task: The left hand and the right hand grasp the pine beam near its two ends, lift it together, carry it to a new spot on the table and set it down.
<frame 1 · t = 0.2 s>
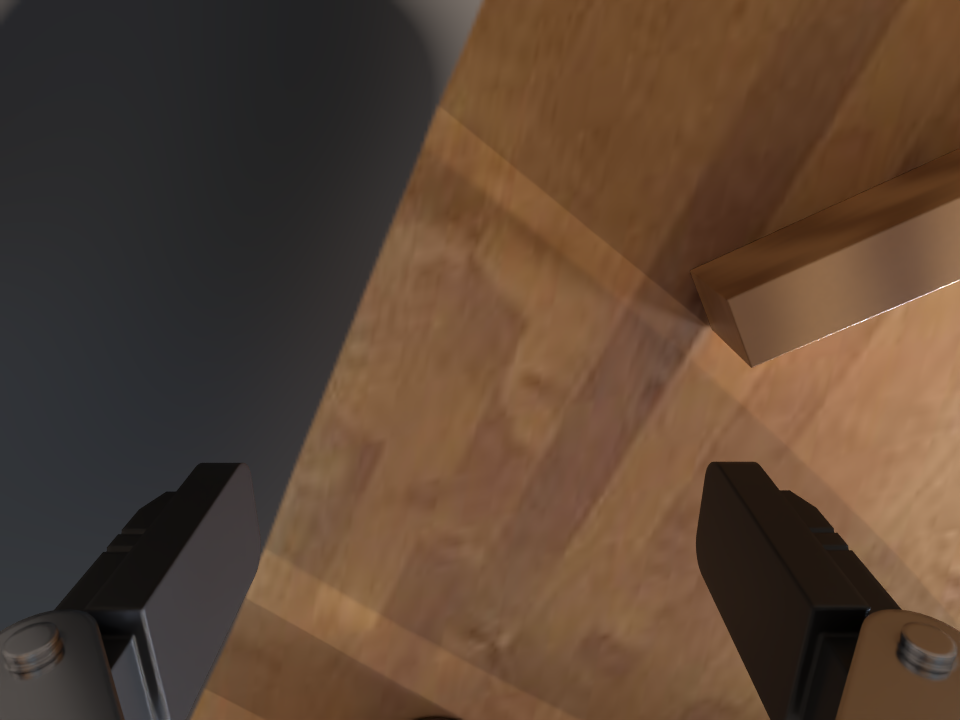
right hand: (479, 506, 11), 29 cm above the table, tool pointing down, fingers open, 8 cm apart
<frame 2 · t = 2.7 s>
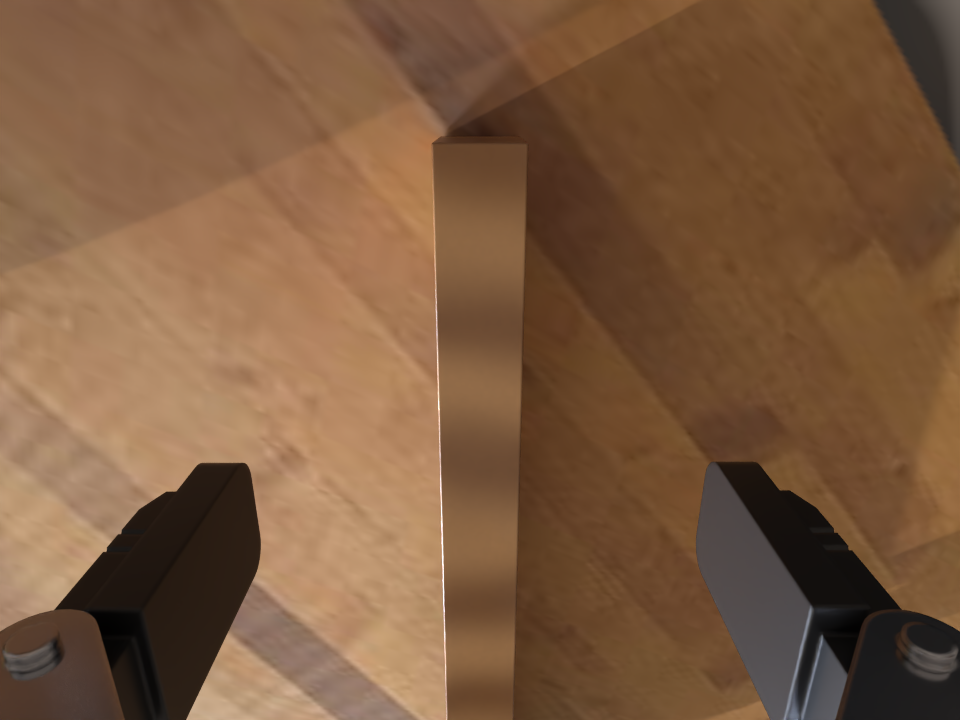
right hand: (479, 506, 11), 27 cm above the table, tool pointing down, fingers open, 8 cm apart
beam: (479, 530, 44), on the table, touching left hand
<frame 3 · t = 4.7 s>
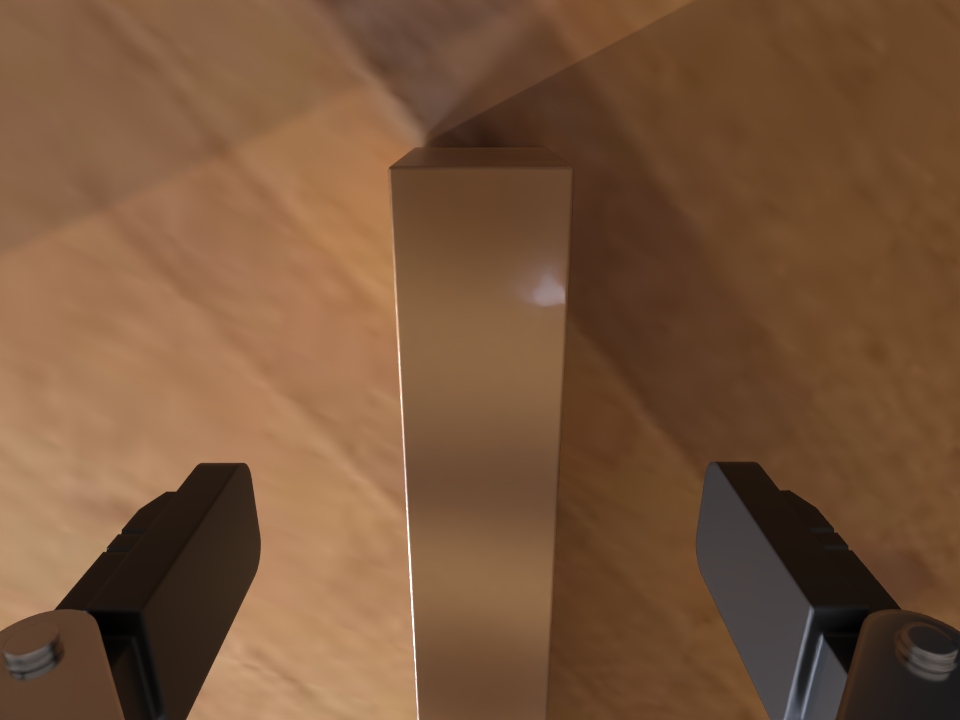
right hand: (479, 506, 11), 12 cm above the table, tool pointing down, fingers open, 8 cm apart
beam: (481, 715, 30), on the table, touching left hand
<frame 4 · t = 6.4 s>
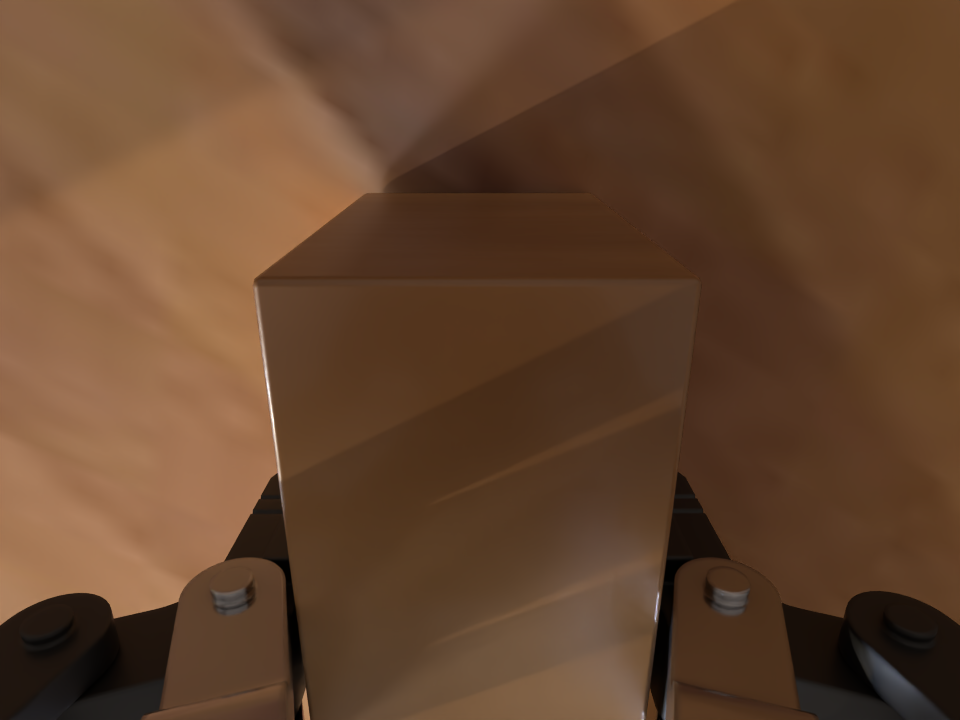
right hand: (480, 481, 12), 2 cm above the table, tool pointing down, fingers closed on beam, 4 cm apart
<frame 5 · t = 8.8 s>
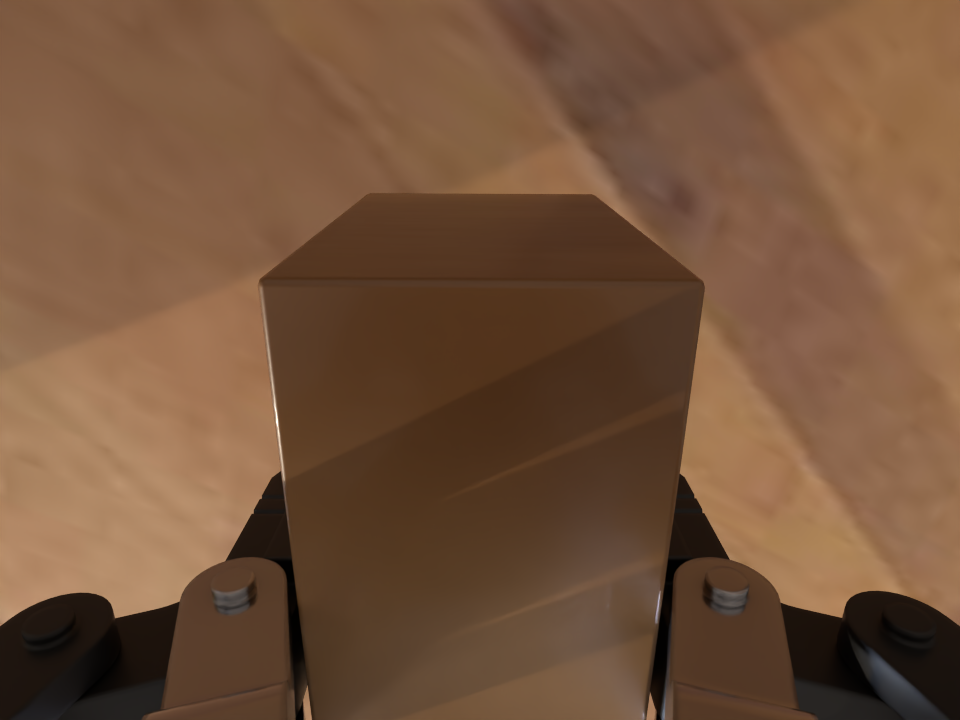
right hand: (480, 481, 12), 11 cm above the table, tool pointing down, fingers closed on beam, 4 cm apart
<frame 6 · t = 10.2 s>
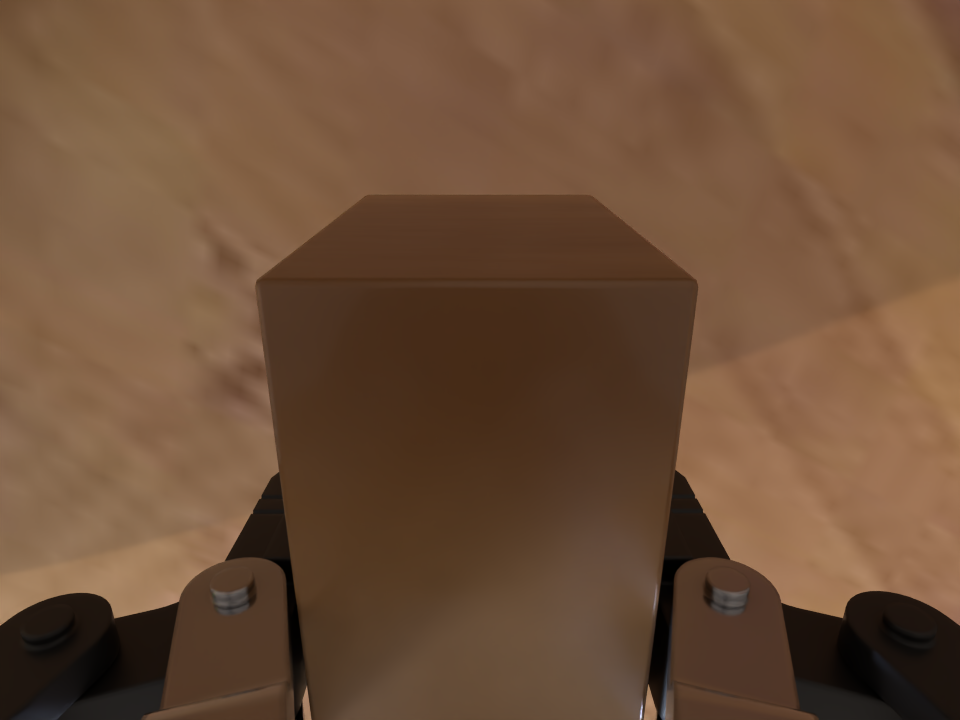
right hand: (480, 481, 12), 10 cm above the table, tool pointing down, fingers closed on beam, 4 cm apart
when the left hand's fingers open (3 cm above the table, at t = 11.4 s): beam stays where it is, on the table.
when the right hand's fingers open (3 cm above the table, at t = 11.4 s): beam stays where it is, on the table.
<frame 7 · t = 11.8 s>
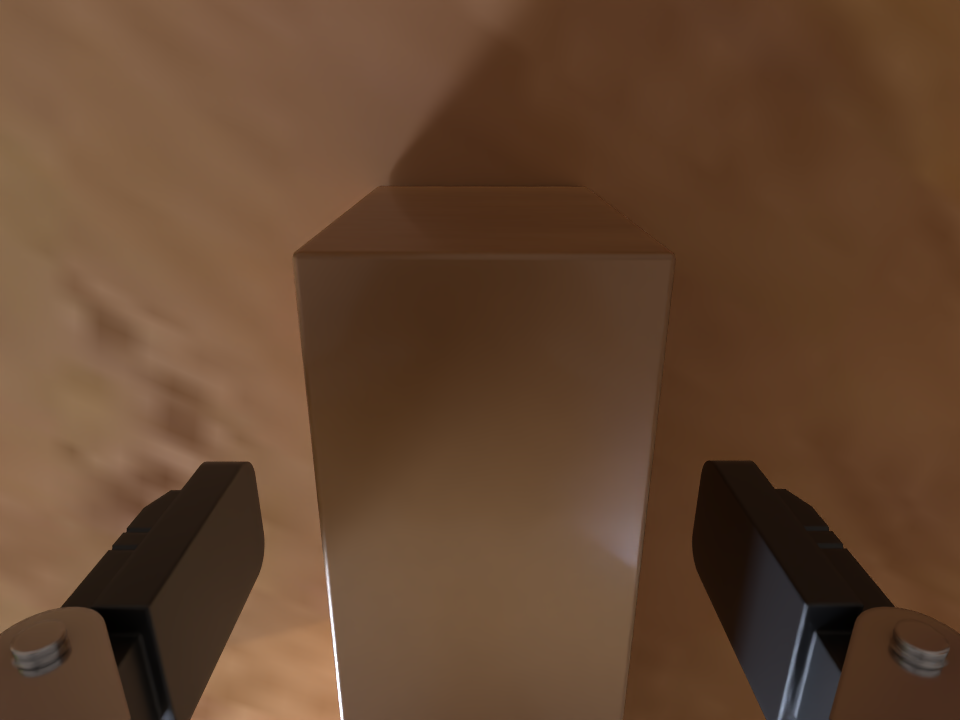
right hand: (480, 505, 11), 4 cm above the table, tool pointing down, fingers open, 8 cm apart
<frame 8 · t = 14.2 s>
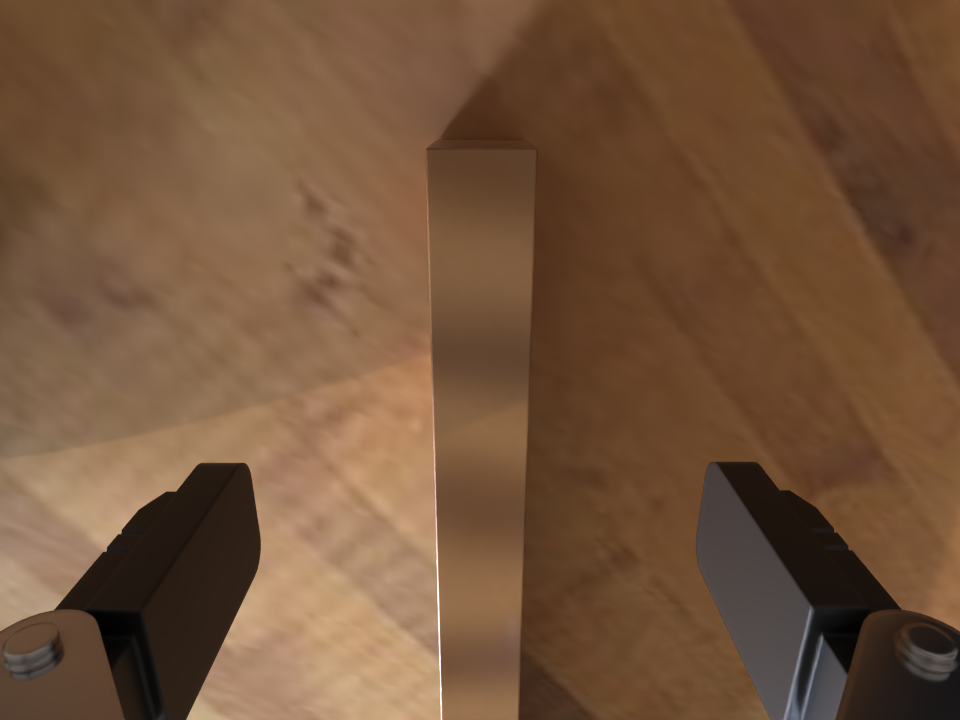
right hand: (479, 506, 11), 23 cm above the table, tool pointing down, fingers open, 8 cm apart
beam: (480, 572, 40), on the table
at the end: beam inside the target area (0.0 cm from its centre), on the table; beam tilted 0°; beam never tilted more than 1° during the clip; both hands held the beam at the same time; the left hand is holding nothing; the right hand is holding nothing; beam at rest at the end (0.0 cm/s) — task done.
